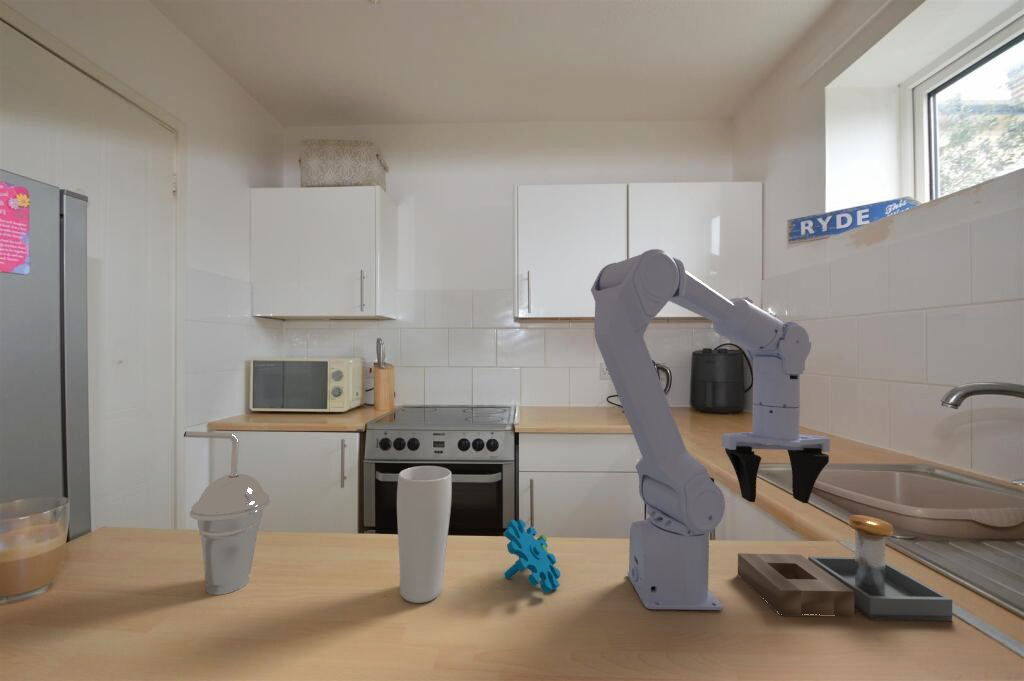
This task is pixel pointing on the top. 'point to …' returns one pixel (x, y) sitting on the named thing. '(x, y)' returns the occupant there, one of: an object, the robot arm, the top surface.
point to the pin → (870, 553)
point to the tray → (890, 593)
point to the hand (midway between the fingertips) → (774, 500)
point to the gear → (531, 556)
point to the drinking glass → (423, 530)
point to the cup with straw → (228, 523)
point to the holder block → (795, 585)
